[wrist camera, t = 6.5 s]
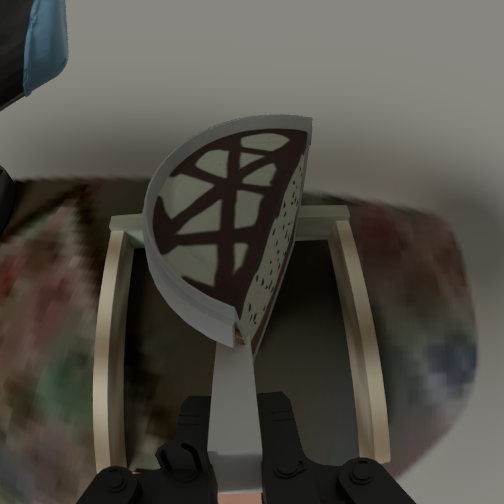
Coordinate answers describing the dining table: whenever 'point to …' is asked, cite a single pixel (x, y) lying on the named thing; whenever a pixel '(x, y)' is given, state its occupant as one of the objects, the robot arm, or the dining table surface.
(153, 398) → the dining table surface
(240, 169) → the food container
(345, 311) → the beige u-shaped frame
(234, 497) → the mat
